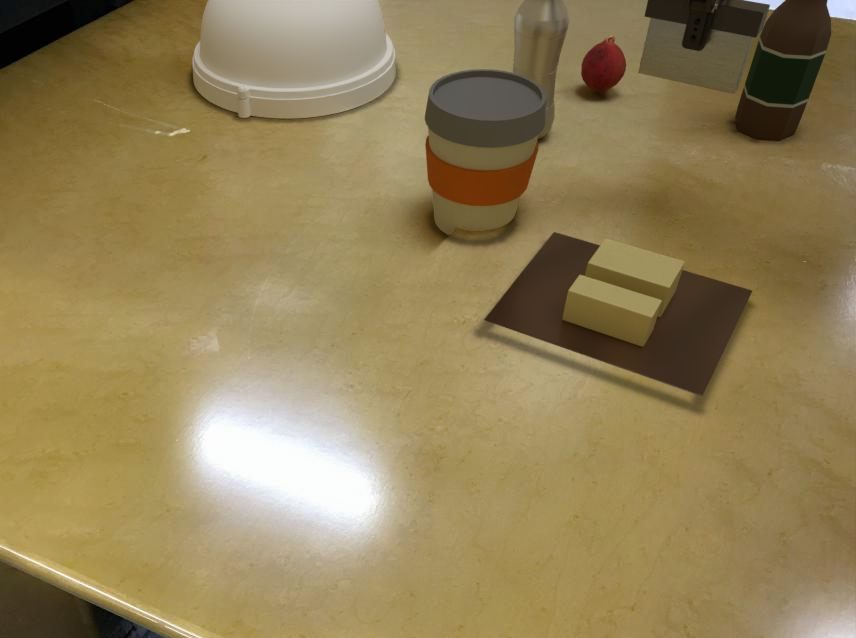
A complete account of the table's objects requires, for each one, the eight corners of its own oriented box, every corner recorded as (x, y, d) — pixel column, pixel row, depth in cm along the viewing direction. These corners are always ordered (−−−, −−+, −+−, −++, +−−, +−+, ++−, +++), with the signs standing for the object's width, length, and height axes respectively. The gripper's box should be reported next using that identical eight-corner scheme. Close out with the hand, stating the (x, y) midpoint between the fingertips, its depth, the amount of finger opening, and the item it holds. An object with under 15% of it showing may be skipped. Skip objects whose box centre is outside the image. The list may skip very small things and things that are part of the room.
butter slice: (653, 330, 86) (662, 299, 83) (643, 347, 84) (652, 317, 81) (573, 303, 89) (579, 274, 86) (561, 320, 87) (568, 290, 84)
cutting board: (748, 302, 91) (753, 290, 90) (697, 408, 80) (702, 396, 79) (551, 242, 99) (553, 231, 98) (481, 331, 88) (483, 319, 87)
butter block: (675, 291, 90) (685, 261, 87) (660, 317, 87) (669, 287, 84) (598, 267, 93) (605, 237, 91) (581, 292, 90) (587, 262, 88)
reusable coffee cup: (511, 260, 97) (530, 131, 86) (402, 235, 101) (408, 109, 90) (541, 203, 105) (562, 78, 95) (439, 182, 109) (448, 60, 99)
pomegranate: (599, 106, 122) (611, 48, 117) (567, 92, 126) (578, 34, 120) (628, 94, 125) (641, 37, 119) (596, 80, 128) (607, 24, 123)
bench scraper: (744, 88, 92) (770, 4, 86) (737, 97, 91) (764, 12, 85) (638, 66, 97) (657, -16, 91) (631, 74, 95) (649, -8, 89)
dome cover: (257, 19, 148) (251, -74, 138) (428, 47, 138) (434, -51, 128) (149, 98, 128) (133, -4, 118) (340, 138, 118) (340, 30, 108)
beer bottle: (721, 117, 119) (781, -81, 103) (775, 110, 120) (843, -86, 104) (752, 144, 114) (821, -60, 97) (808, 138, 115) (886, -66, 98)
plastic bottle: (525, 151, 114) (549, -13, 100) (489, 130, 118) (508, -30, 104) (561, 137, 116) (591, -25, 103) (525, 117, 121) (549, -41, 107)
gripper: (774, -130, 73) (715, 76, 85) (812, -166, 82) (753, 27, 93) (682, -141, 76) (637, 60, 88) (728, -174, 85) (681, 13, 97)
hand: (697, 42), depth 91 cm, fingers closed on bench scraper, 2 cm apart
